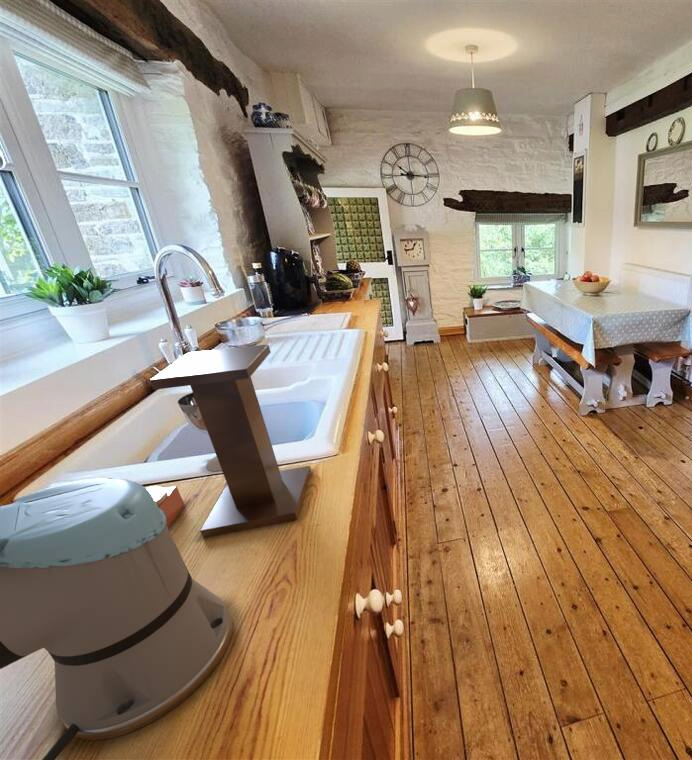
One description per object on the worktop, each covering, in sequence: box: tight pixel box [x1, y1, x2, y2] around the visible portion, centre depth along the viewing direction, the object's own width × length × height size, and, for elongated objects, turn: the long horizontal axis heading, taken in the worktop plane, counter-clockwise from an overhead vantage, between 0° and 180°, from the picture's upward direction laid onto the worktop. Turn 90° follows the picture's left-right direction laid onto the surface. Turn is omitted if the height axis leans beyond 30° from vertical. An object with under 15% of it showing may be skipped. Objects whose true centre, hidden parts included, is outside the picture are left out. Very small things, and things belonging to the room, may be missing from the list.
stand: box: [149, 343, 312, 539], centre depth 68 cm, size 14×14×27 cm
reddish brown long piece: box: [145, 485, 185, 529], centre depth 67 cm, size 17×7×5 cm, turn 105°
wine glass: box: [177, 392, 222, 472], centre depth 83 cm, size 8×8×15 cm
